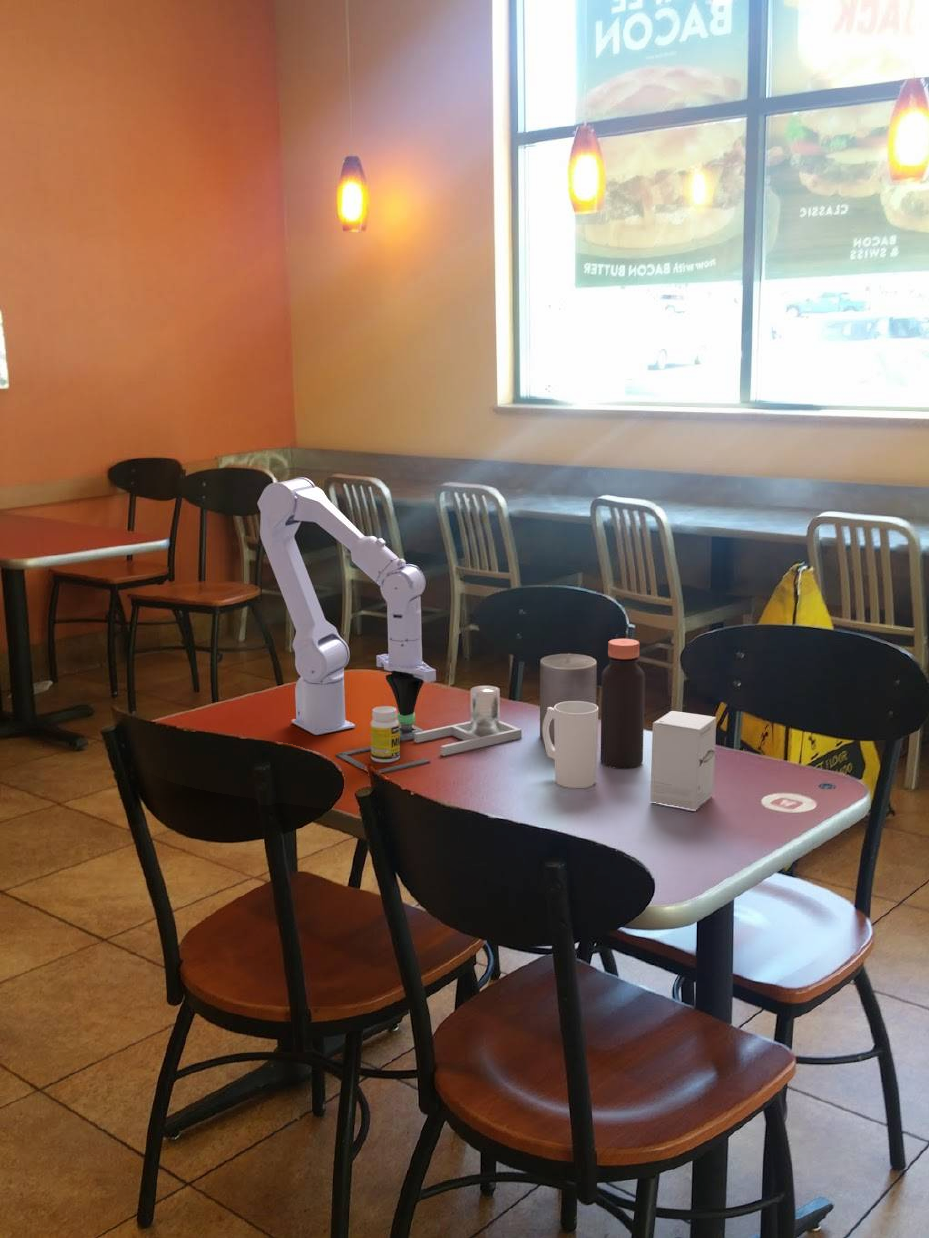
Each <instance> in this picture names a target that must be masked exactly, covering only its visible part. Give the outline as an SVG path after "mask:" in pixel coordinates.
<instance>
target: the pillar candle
mask: <svg viewBox="0 0 929 1238" xmlns="http://www.w3.org/2000/svg"><path fill="white" fill-rule="evenodd" d="M539 662H540V663H539V664H540V667H539V739H540V740H541V741H542V742H544V739H543V731H542V728H543V721H544V718H545V715H546V713H547V708H548V707H552V708H554V706H555V705H556V704H558V703H561V702H567V701H583V702H589V703H593V704H595V705H597V682H598V681H597V670H598V669H597V668H598V667H597V666H598V665H597V660H596V659H595V658H593V657H592V656H589V655H585V654H579V653H570V652H568V653H557V654H551V655H546V656H544V657H542V658H541V659H540V661H539ZM549 734H550V739H551V742H552V744H553V746H555V740H554V718H553V719H552V720H551V722H550V725H549Z"/></svg>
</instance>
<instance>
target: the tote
mask: <svg viewBox="0 0 929 1238" xmlns="http://www.w3.org/2000/svg"><path fill="white" fill-rule="evenodd" d="M366 751H367V752H371V745H370V746H366V747H360V748H357V749H353V750H348V751H344V752H339V753H335V756H336V757H337V758H339V759H341V760H343V761H345V762H346V761H348V762H349V763H348V762H347V763H348V764H350V763H352V764H353V765H352V764H351V765H352V766H354V765H356V766H357V767H359V768H363V770H364V771H365V766H367V765H365V763H363V762H360V761H358V760H356V759H355V758H353V757H351V756H352V755H357V753H358V754H362V753H367V752H366ZM361 752H362V753H361ZM428 763H429V764H430V763H431V760H429V759H428V758H424V759H419V760H415V761H414V760H413V761H411V762H405V763H402V764H399V765H398V764H397V765H393V766H389V767H385V768H380V769H377V770H378V771H381V772H382V773H383V774H386V773H391V772H395V771H399V770H404V769H408V768H413V767H416V766H420V765H421V766H422V765H426V764H428ZM357 767H356V768H357ZM359 768H358V769H359ZM363 770H362V771H363ZM364 771H363V772H364Z"/></svg>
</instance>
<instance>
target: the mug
mask: <svg viewBox="0 0 929 1238" xmlns="http://www.w3.org/2000/svg"><path fill="white" fill-rule="evenodd" d="M599 709H600V708H599V706H598V705H597V704H596V705H595V704H593V703H589V702H583V701H567V702H561V703H558V704H556V705H555V706H554V708H552V707H548V708H547V713H546V715H545V718H544V721H543V728H542V731H543V739H544V741H543V743H544V746H545V751H546V755H547V757H548V758H550V759H553V760H554V779H555V780H554V781H555V782H556V784H557V785H559V786H560V787H564V788H569V789H585V788H590V787H592V786H594V785H595V784H594V783H596V779H597V764H598V763H597V762H598V761H597V760H598V758H597V757H598V739H599V738H598V735H599V732H598V731H599V730H598V729H599ZM553 718H554V740H555V745H553V744H552V742H551V739H550V734H549V725H550V722H551V720H552V719H553ZM593 784H594V785H593ZM589 786H590V787H589Z"/></svg>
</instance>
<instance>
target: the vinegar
mask: <svg viewBox="0 0 929 1238" xmlns="http://www.w3.org/2000/svg"><path fill="white" fill-rule="evenodd" d="M640 644H641V643H640V642H639V640H636V639H632V638H615V639H613V638H612V639H611V640H609V641H608V643H607V645H608V647H607V655H608V657H607V658H608V659H609V664H608V665H607V666H606V667H605V668H604V669H603V671H602V672H601V693H600V694H601V695H600V696H601V701H600V702H601V704H600V705H601V706H600V714H601V715H600V762H601V764H603V765H604V764H605V766H606V765H607V766H606V767H609V766H610V768H613V767H615V768H614V769H632V768H631V767H634V768H636V766H637V767H639V766H641V765H642V764H641V763H643V761H644V732H645V731H644V730H645V729H644V726H645V725H644V724H645V723H644V722H645V719H644V718H645V685H646V684H645V683H646V679H645V678H646V675H645V674H646V673H645V672H644V670H643V669H642V668H641V667H640V665H638V661H639V659H640V658H639V657H640V646H641V645H640Z"/></svg>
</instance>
